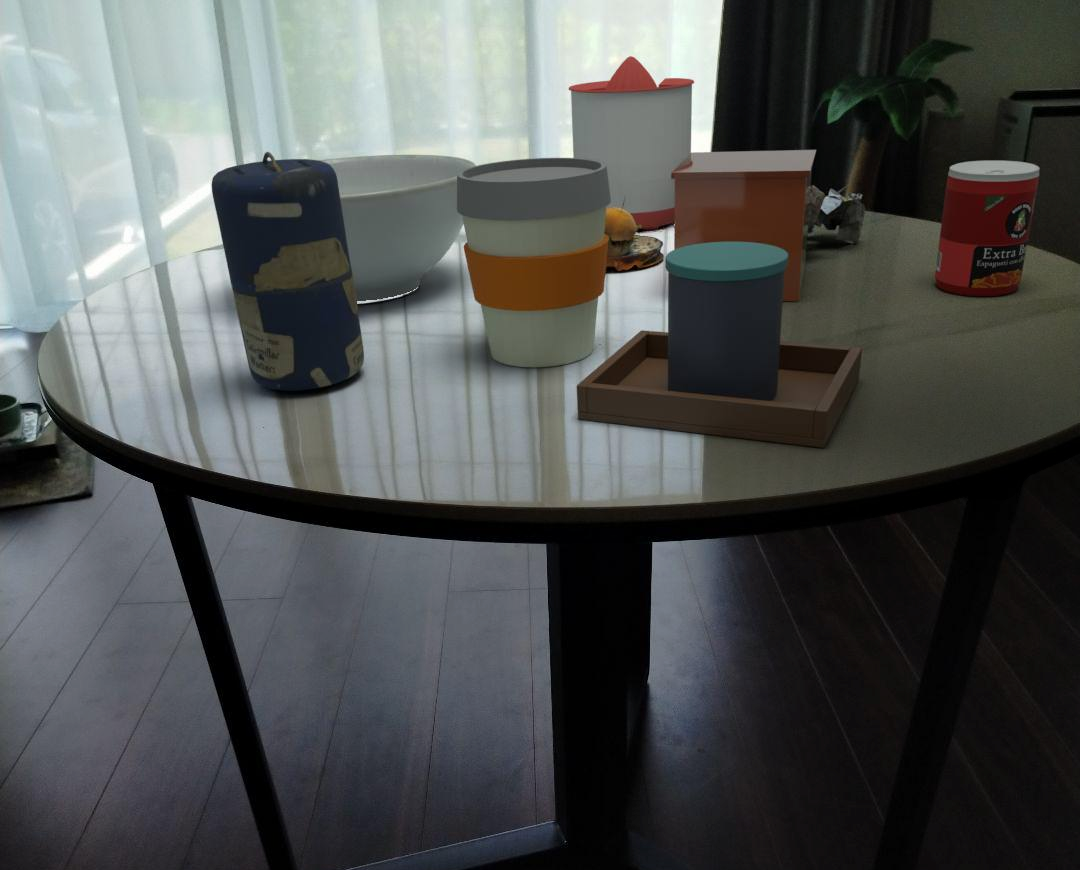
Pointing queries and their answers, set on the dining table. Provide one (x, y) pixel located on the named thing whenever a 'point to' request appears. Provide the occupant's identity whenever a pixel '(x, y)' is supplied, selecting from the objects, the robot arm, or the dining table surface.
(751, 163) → the brown lidded box
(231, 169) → the canister
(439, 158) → the decorative bowl
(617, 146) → the citrus juicer
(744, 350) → the grey container
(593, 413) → the tray
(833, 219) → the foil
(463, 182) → the reusable coffee cup
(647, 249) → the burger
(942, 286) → the canned food
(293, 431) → the dining table surface
